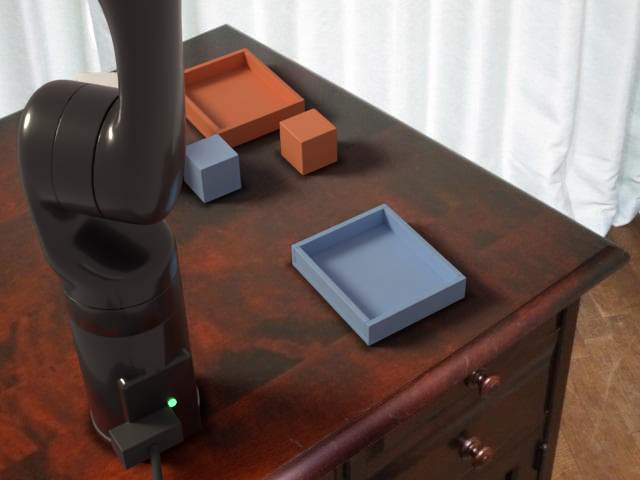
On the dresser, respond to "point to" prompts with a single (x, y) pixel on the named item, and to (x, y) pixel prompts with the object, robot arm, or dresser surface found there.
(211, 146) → the blue block
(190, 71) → the clay tray
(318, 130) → the clay block
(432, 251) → the blue tray
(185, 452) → the dresser surface
